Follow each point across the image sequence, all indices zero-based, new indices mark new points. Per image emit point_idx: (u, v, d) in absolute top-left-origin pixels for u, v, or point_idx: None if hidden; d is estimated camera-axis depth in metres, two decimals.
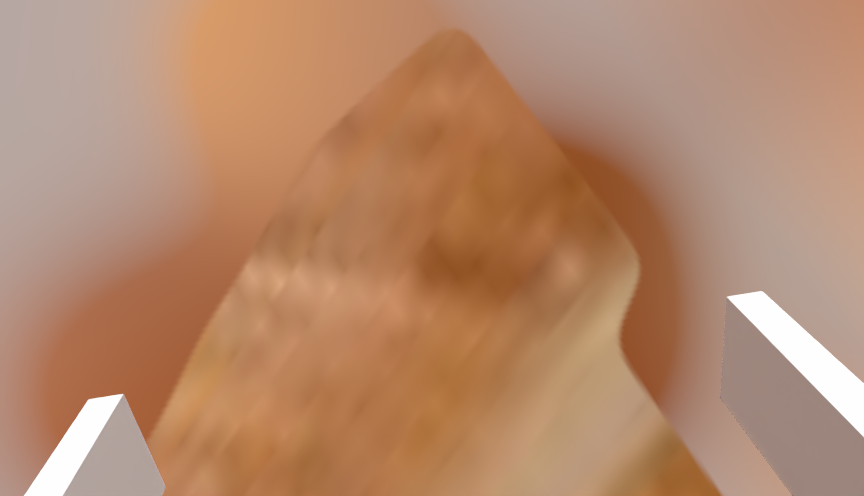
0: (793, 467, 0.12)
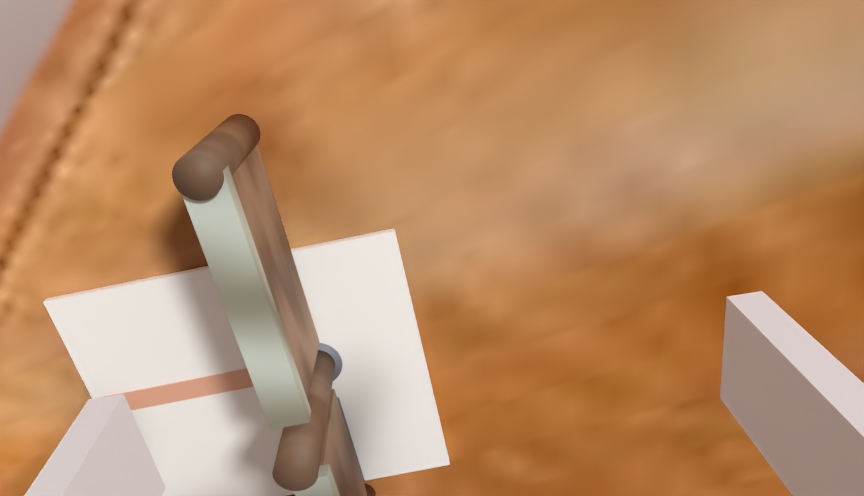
0: (793, 466, 0.12)
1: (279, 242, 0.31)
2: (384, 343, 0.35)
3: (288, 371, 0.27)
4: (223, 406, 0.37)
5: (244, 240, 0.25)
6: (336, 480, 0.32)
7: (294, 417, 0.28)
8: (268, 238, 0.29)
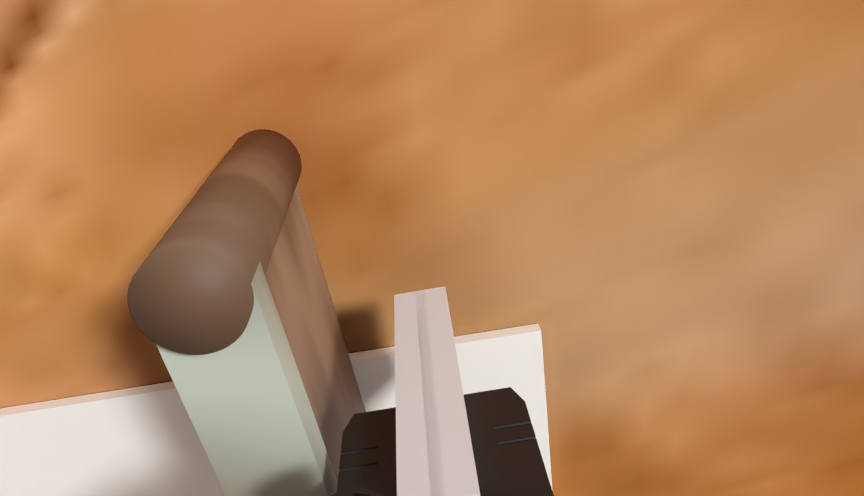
0: None
1: (337, 360, 0.17)
2: None
3: None
4: None
5: (298, 426, 0.11)
6: None
7: None
8: (324, 367, 0.15)
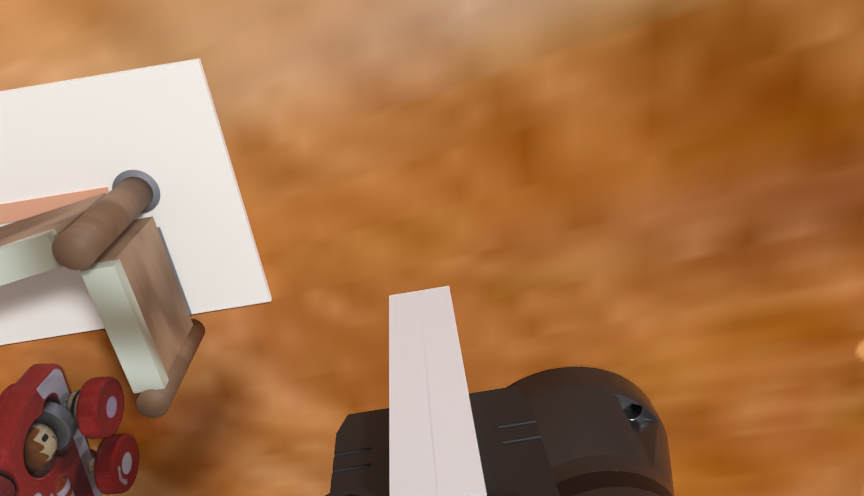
0: None
1: None
2: (198, 174, 0.38)
3: None
4: None
5: None
6: (136, 284, 0.35)
7: (44, 246, 0.32)
8: None
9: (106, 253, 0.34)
